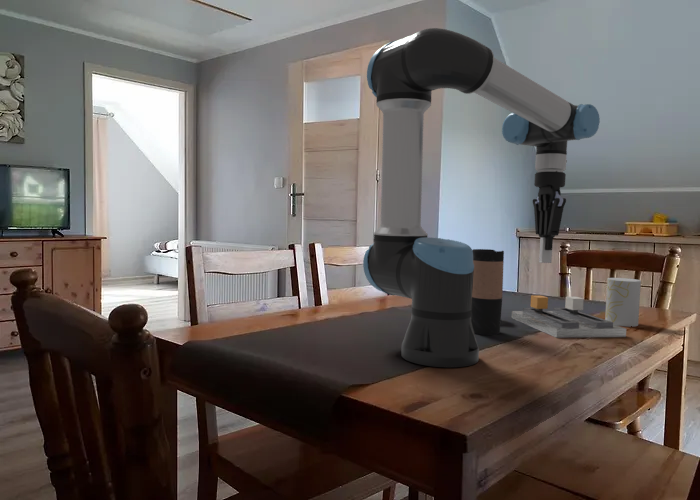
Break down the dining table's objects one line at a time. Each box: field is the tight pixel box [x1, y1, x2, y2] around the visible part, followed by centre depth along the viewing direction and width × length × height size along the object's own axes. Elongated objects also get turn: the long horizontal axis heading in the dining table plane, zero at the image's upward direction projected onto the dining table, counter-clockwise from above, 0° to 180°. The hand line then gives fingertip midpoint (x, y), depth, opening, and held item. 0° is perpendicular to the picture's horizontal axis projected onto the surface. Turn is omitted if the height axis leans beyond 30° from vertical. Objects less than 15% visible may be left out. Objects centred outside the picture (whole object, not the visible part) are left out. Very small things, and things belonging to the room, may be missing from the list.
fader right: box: [564, 296, 584, 315], centre depth 149 cm, size 3×4×5 cm
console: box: [511, 307, 627, 339], centre depth 145 cm, size 18×24×3 cm
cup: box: [604, 277, 642, 327], centre depth 152 cm, size 8×8×12 cm
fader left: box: [529, 295, 549, 313], centre depth 150 cm, size 3×4×5 cm
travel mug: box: [471, 248, 505, 336], centre depth 136 cm, size 8×8×20 cm
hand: (545, 262), depth 147 cm, fingers closed
